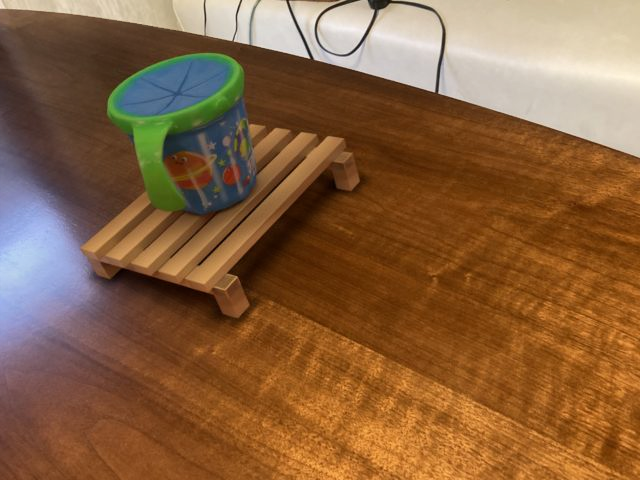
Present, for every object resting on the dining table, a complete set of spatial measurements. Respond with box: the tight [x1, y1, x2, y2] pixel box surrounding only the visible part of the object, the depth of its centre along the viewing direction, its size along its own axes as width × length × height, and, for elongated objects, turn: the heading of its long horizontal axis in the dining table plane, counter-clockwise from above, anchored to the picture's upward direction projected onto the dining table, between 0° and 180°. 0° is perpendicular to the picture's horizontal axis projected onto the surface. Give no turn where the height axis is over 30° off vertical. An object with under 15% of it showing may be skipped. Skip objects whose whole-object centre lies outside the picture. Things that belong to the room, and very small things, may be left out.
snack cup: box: [106, 52, 258, 215], centre depth 63 cm, size 16×10×10 cm
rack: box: [79, 123, 361, 319], centre depth 68 cm, size 16×20×4 cm
